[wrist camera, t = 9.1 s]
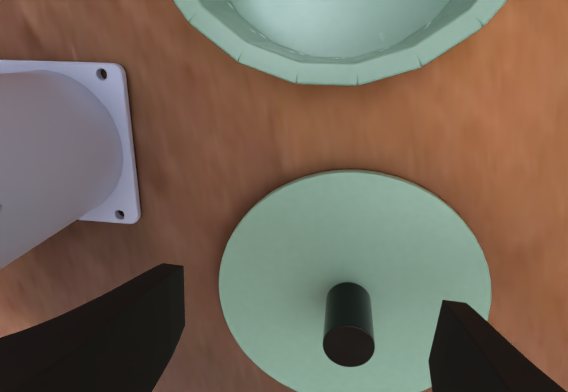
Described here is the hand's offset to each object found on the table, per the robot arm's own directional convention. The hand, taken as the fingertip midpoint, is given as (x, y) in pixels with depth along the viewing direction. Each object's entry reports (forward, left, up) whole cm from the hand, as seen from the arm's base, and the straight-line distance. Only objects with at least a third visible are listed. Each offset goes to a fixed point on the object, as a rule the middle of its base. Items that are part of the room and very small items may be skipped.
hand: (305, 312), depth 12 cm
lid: (+2, -5, -9) cm, 10 cm away
